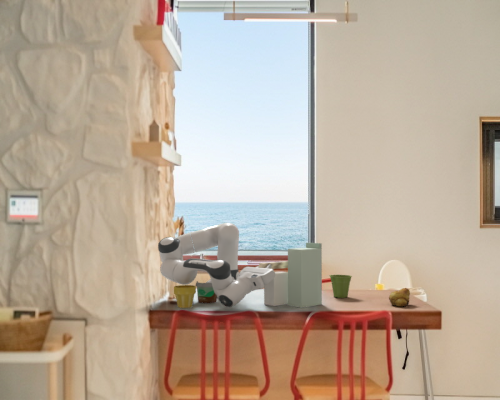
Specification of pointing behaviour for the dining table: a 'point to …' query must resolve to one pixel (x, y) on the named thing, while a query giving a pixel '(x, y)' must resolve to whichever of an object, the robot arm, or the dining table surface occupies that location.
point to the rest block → (277, 290)
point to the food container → (205, 293)
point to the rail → (275, 265)
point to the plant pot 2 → (340, 285)
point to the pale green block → (305, 276)
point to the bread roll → (400, 297)
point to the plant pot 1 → (184, 295)
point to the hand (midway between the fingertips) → (267, 265)
